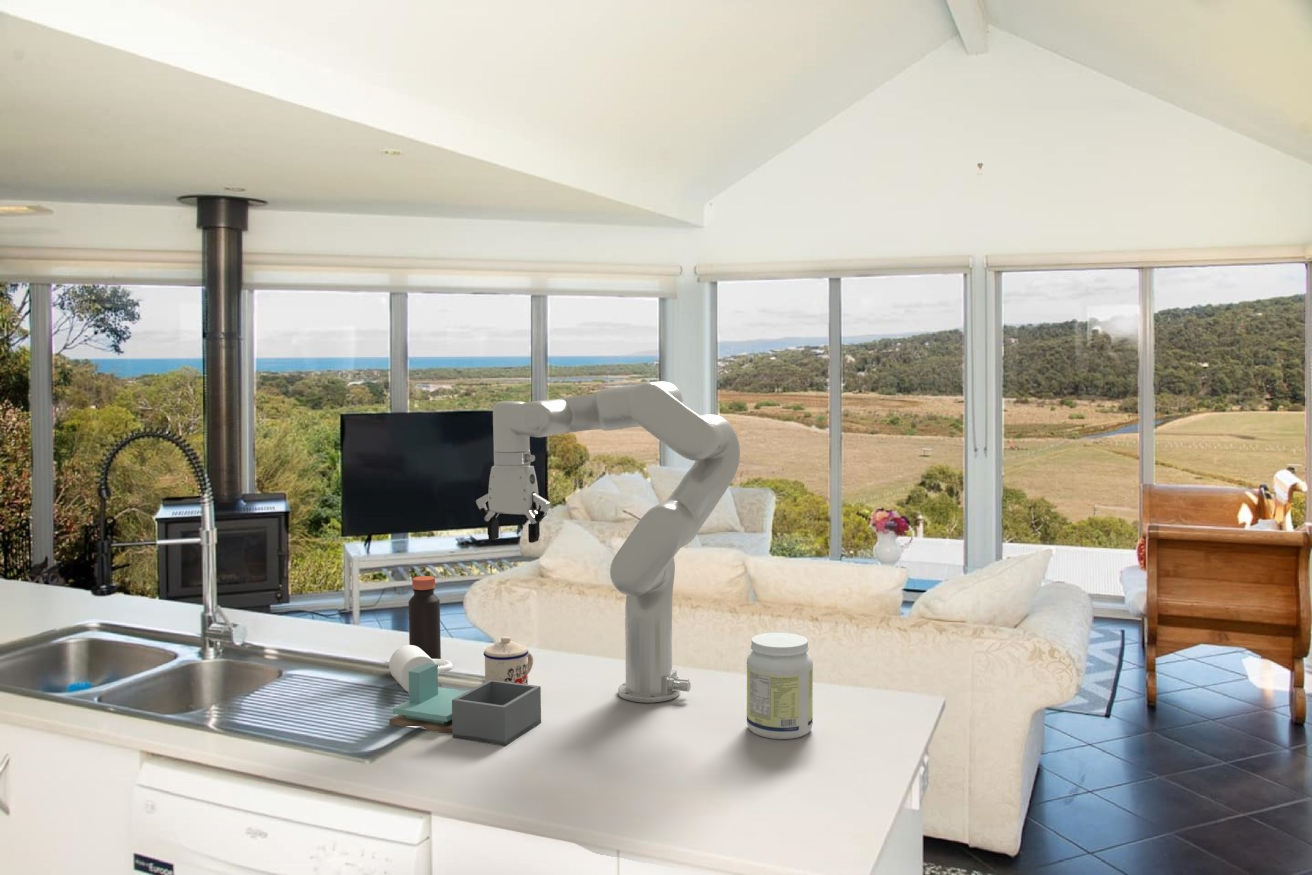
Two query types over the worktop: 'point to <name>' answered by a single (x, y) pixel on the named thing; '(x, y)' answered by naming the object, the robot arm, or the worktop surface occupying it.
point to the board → (422, 724)
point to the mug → (412, 663)
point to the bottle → (425, 617)
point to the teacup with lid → (507, 662)
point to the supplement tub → (779, 686)
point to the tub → (496, 712)
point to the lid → (427, 696)
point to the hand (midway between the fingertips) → (513, 540)
